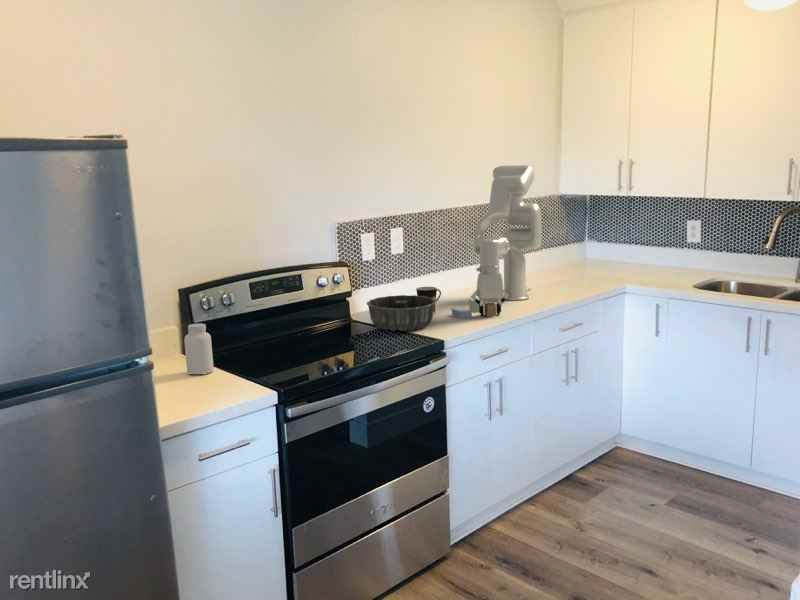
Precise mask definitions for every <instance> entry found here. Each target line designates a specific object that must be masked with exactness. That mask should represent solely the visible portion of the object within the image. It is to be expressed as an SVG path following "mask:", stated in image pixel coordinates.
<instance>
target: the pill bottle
mask: <svg viewBox="0 0 800 600" xmlns="http://www.w3.org/2000/svg"><path fill="white" fill-rule="evenodd" d="M206 329H207V325H206V324H205V323H192V324H189V325H188V326H187V334H186V335H185V336H184V340H183V342H184V351H185V362H186V363H185V364H186V371H187V374H188V373H191V374H203V373H208V372H211V371H213V372H214V358H213V347H212V345H213V344H212V336H211V334H210V333H208V332H206V331H207V330H206ZM211 373H212V372H211Z"/></svg>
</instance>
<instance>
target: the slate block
mask: <svg viewBox="0 0 800 600" xmlns="http://www.w3.org/2000/svg"><path fill="white" fill-rule="evenodd" d="M451 315H452V316H453V315H454V317H457V318H459V319H465V318H466V319H468V318H472V316H473V315H472V310H470V308H466V307H464V306H463V307H462V306H461V307H453V308H451Z"/></svg>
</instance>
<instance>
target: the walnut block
mask: <svg viewBox="0 0 800 600" xmlns="http://www.w3.org/2000/svg"><path fill="white" fill-rule="evenodd" d="M496 304H497V303H496ZM496 304H495V303H494V302H493V301H489V302H488V301H487V302H483V306H484V314H485V315H486V316H487V317H486V316H485V315H484V316H485V317H486V318H494V317H493V316H496V317H497V313H496Z"/></svg>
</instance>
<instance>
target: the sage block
mask: <svg viewBox="0 0 800 600" xmlns="http://www.w3.org/2000/svg"><path fill="white" fill-rule="evenodd" d="M476 298H477V299H478V300H479V299H480V298H479V297H476ZM468 301H469V310H472V312H473V313H479V304H478V303H476V302H475V301H474V300H473V299H472V298H471V297H469V300H468Z"/></svg>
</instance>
